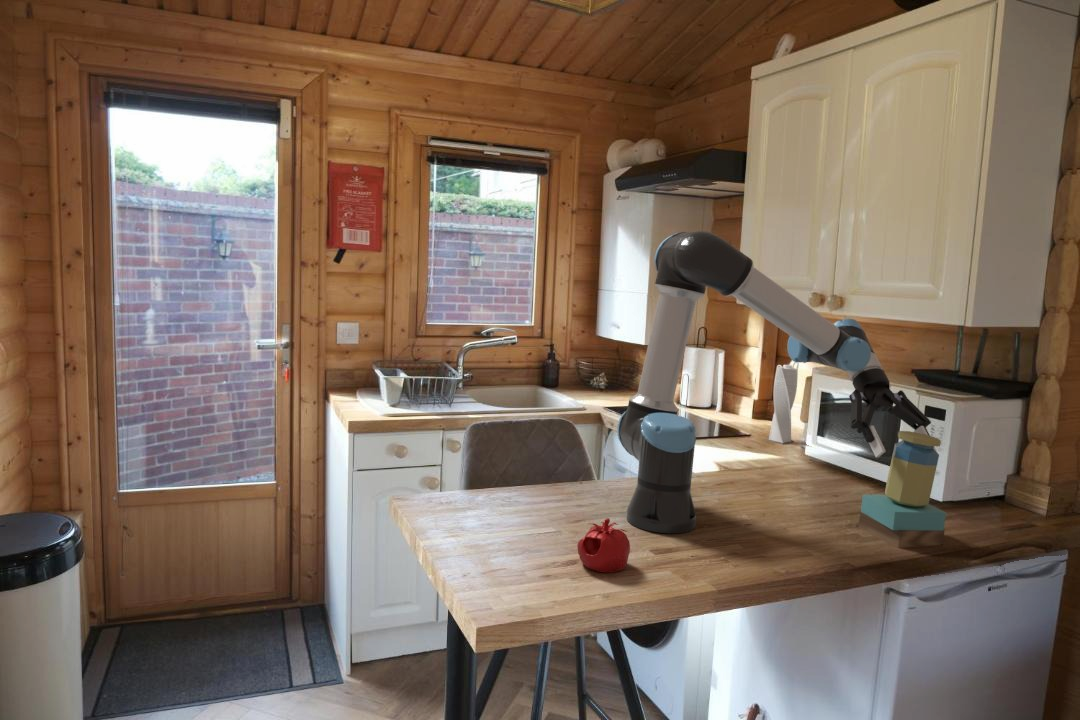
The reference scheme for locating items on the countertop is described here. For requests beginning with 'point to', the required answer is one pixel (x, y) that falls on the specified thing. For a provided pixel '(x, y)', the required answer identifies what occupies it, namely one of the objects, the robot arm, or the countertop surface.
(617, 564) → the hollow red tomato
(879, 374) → the robot arm
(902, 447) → the jar
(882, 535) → the tower base
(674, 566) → the countertop surface
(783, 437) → the skyscraper
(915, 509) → the tower top
